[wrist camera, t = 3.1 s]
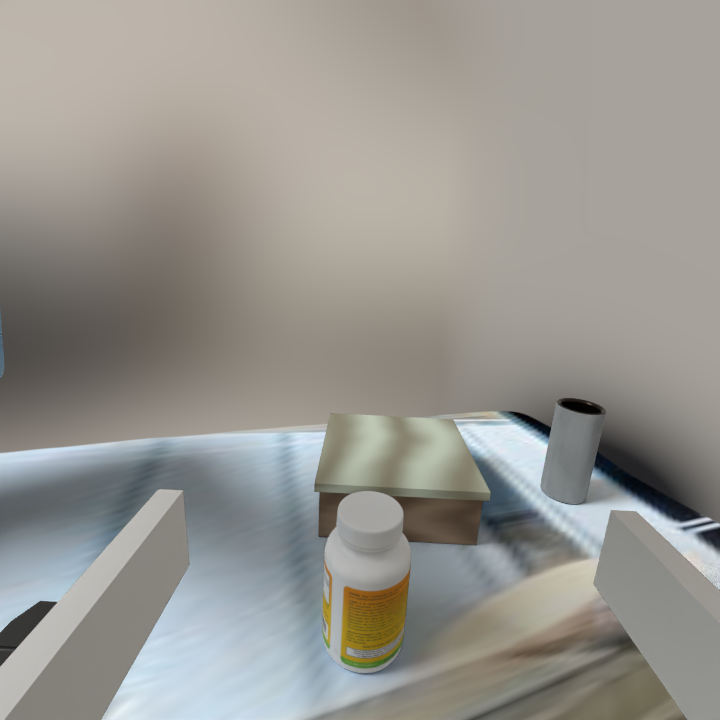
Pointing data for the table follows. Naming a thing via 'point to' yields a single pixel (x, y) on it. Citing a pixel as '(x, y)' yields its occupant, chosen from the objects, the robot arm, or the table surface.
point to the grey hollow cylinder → (572, 449)
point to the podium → (403, 474)
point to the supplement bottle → (366, 583)
